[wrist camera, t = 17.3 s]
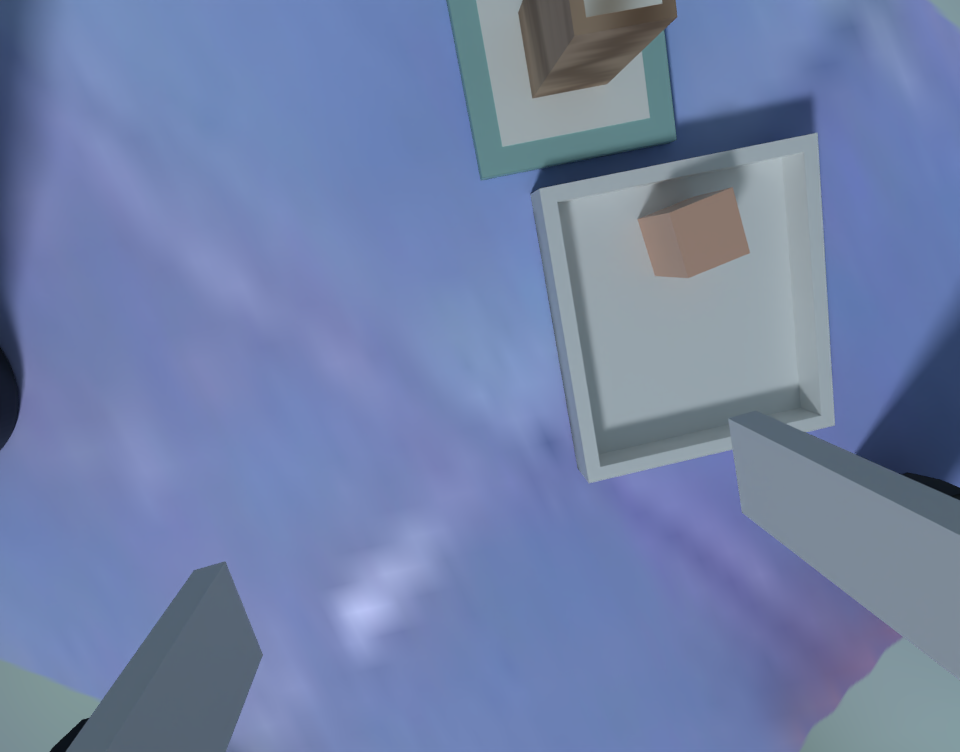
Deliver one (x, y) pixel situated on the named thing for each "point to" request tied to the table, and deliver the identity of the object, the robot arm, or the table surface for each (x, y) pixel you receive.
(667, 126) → the board
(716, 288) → the tray
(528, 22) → the walnut box
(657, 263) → the clay cube
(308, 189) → the table surface
